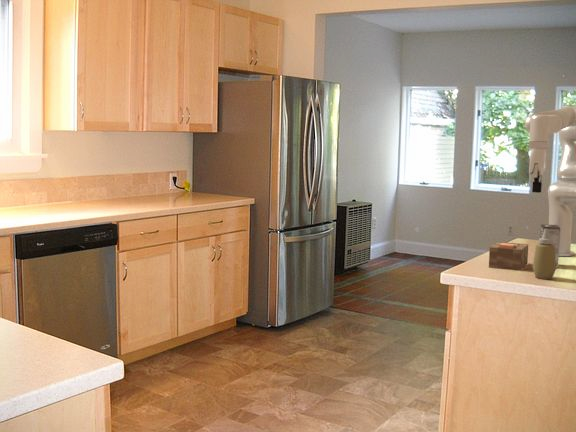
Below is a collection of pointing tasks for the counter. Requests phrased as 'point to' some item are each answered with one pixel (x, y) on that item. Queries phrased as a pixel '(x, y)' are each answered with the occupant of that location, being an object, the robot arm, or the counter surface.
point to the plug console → (508, 256)
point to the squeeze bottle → (544, 258)
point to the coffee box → (553, 237)
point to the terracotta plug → (507, 245)
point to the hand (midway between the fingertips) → (536, 192)
